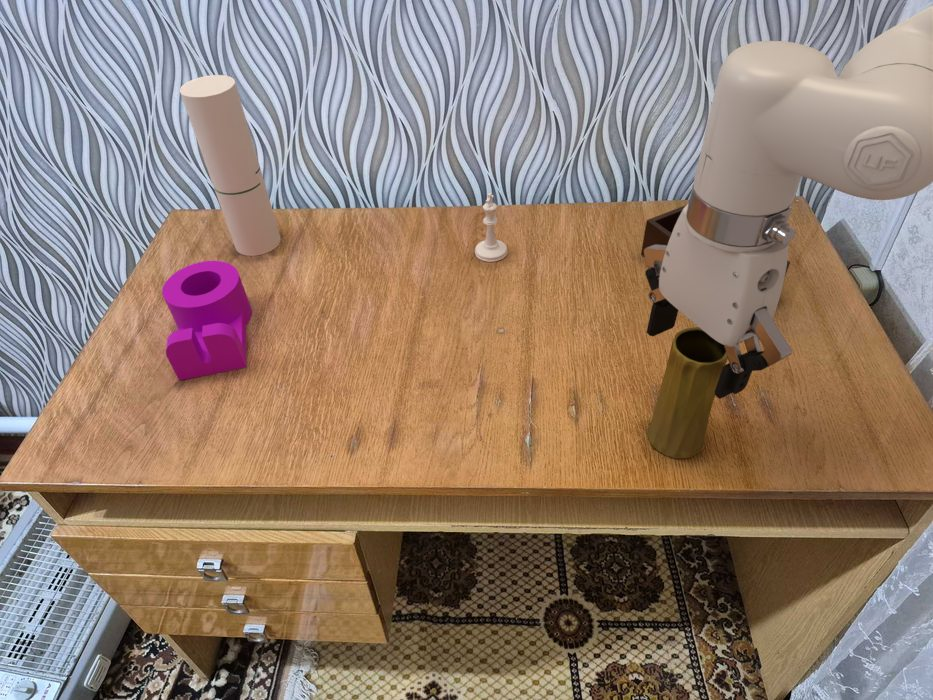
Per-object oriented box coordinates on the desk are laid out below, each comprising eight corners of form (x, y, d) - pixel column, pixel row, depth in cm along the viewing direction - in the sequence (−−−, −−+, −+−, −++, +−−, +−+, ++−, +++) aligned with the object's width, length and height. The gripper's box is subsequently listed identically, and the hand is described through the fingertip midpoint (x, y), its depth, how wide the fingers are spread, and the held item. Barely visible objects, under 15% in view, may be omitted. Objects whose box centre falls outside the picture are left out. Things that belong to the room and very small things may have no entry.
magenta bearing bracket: (181, 303, 95) (165, 268, 90) (251, 290, 96) (239, 255, 92) (172, 381, 83) (154, 346, 79) (252, 366, 85) (238, 330, 80)
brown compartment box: (688, 235, 101) (696, 201, 96) (777, 298, 89) (790, 262, 85) (640, 254, 98) (646, 219, 94) (726, 321, 86) (737, 285, 82)
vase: (690, 469, 70) (719, 377, 60) (637, 442, 73) (657, 350, 63) (712, 432, 74) (744, 339, 64) (661, 408, 76) (684, 315, 67)
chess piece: (469, 257, 99) (465, 198, 92) (483, 239, 102) (481, 182, 95) (498, 265, 97) (497, 206, 90) (512, 247, 101) (512, 189, 94)
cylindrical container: (286, 230, 107) (242, 74, 90) (272, 256, 102) (223, 97, 84) (244, 229, 108) (192, 75, 90) (228, 255, 103) (170, 97, 85)
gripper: (860, 251, 49) (789, 402, 61) (697, 153, 60) (664, 298, 72) (787, 284, 46) (727, 435, 58) (630, 176, 57) (608, 321, 69)
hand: (692, 359), depth 65 cm, fingers open, 9 cm apart
